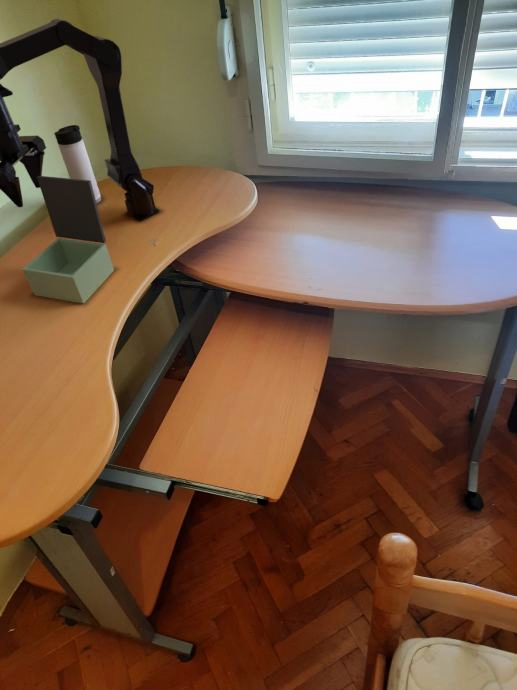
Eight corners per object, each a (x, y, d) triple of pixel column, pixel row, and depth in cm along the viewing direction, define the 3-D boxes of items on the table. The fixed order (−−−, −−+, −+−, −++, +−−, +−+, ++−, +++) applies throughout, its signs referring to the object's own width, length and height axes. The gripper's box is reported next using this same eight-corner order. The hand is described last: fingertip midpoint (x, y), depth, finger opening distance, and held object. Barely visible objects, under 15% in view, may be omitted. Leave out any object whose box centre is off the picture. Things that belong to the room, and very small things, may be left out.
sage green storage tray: (83, 303, 96) (72, 277, 91) (34, 295, 99) (21, 269, 95) (114, 270, 104) (105, 244, 100) (68, 263, 108) (57, 237, 103)
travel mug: (96, 207, 127) (71, 131, 113) (75, 206, 128) (47, 131, 114) (106, 196, 132) (83, 122, 118) (85, 195, 133) (60, 122, 119)
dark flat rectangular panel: (88, 181, 91) (90, 180, 92) (36, 176, 94) (39, 175, 95) (104, 243, 99) (106, 241, 100) (56, 236, 102) (58, 235, 103)
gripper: (-16, 109, 100) (15, 179, 111) (-67, 143, 87) (-26, 218, 98) (32, 107, 99) (59, 178, 110) (-12, 141, 86) (24, 217, 96)
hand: (29, 196), depth 103 cm, fingers open, 9 cm apart
